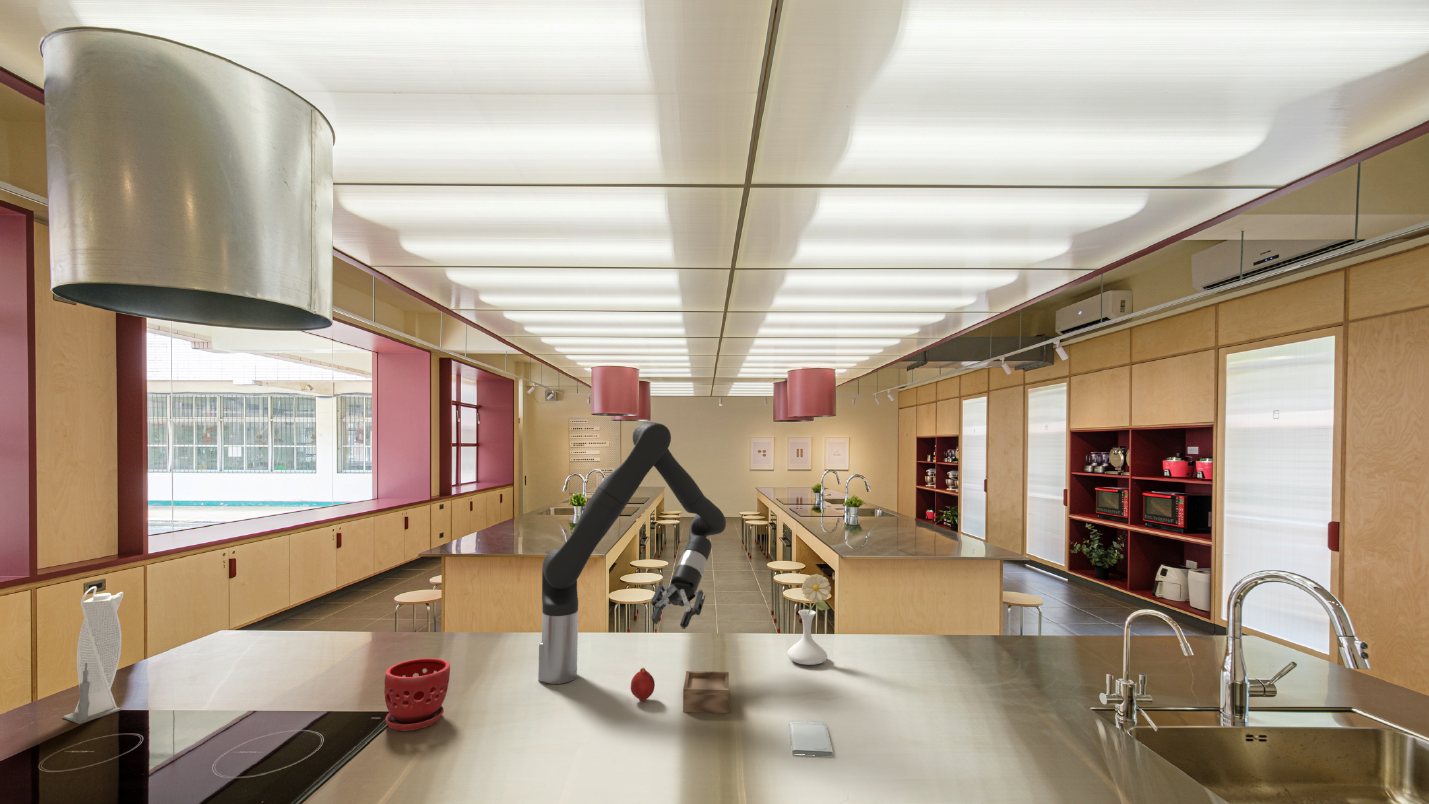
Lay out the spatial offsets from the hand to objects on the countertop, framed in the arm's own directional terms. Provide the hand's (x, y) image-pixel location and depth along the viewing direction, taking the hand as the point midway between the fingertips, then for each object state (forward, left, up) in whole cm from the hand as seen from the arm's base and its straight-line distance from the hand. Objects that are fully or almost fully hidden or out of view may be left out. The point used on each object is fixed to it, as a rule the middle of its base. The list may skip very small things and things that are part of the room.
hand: (668, 624), depth 156 cm
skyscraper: (-129, -22, -15) cm, 132 cm away
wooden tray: (+10, -11, -15) cm, 21 cm away
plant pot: (-54, -23, -15) cm, 60 cm away
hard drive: (+33, -28, -16) cm, 46 cm away
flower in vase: (+39, +16, -15) cm, 45 cm away
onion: (-5, -11, -15) cm, 19 cm away
